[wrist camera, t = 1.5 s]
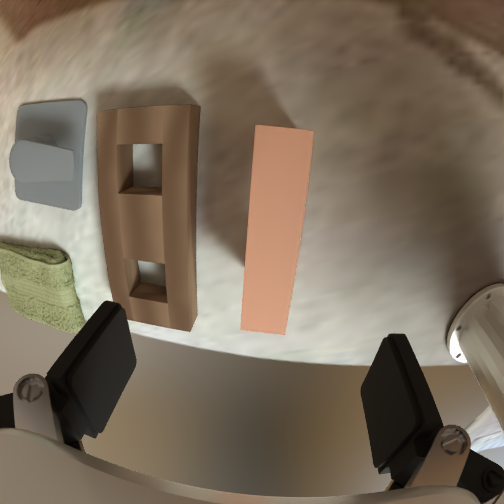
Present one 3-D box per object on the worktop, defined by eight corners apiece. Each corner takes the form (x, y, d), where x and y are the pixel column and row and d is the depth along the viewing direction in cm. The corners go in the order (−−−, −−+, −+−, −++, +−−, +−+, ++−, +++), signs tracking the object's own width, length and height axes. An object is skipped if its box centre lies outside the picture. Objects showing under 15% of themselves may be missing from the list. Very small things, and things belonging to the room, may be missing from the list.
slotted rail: (200, 106, 23) (190, 104, 21) (197, 315, 32) (190, 331, 30) (114, 111, 24) (97, 111, 21) (127, 302, 33) (116, 316, 30)
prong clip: (304, 130, 23) (314, 131, 16) (285, 283, 30) (284, 334, 22) (264, 126, 24) (255, 124, 16) (251, 279, 30) (240, 329, 22)
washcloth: (0, 236, 32) (-14, 244, 30) (74, 248, 31) (58, 259, 28) (19, 306, 38) (9, 315, 35) (93, 330, 37) (82, 344, 34)
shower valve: (72, 230, 24) (-8, 209, 24) (101, 213, 29) (20, 196, 29) (78, 98, 19) (-8, 108, 19) (110, 99, 24) (22, 105, 24)
